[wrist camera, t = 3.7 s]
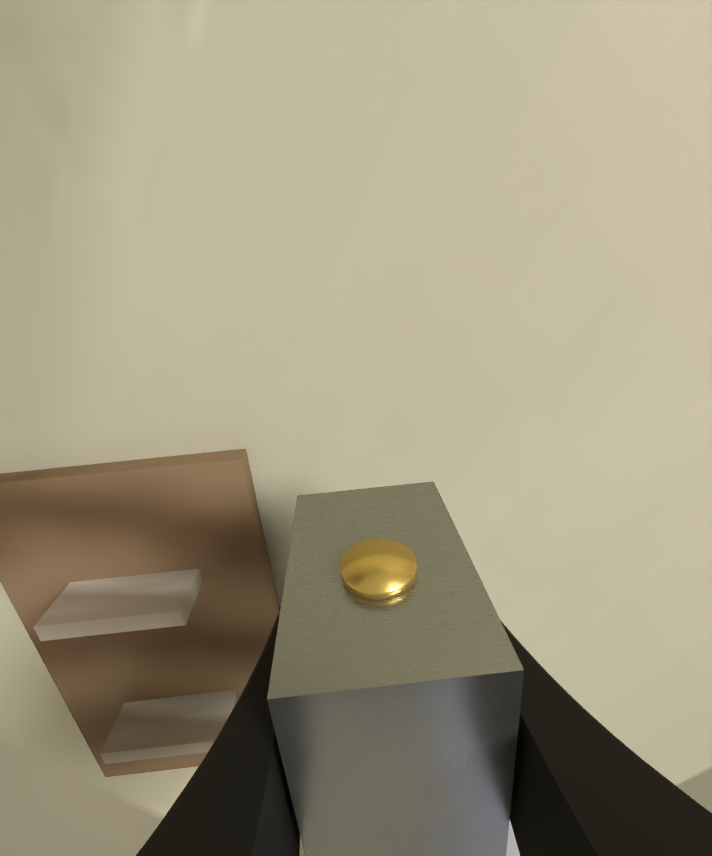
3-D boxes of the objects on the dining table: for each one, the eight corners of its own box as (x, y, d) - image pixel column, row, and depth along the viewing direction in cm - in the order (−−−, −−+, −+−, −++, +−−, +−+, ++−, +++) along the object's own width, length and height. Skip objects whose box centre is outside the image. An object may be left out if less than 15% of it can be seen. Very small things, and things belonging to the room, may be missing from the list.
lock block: (436, 632, 14) (504, 871, 8) (321, 645, 14) (315, 894, 8) (433, 474, 12) (525, 658, 6) (296, 488, 12) (263, 688, 6)
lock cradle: (305, 735, 25) (301, 804, 22) (113, 758, 25) (81, 831, 22) (245, 449, 18) (226, 489, 15) (-30, 477, 18) (-111, 524, 14)
